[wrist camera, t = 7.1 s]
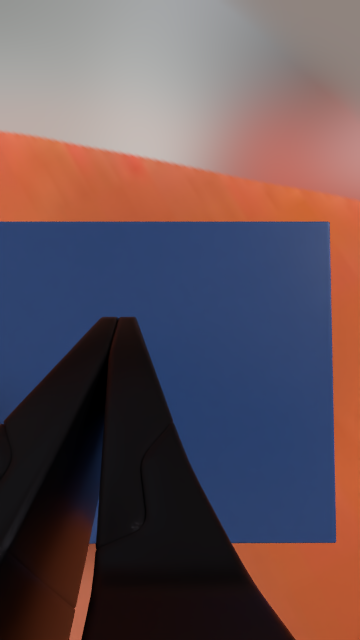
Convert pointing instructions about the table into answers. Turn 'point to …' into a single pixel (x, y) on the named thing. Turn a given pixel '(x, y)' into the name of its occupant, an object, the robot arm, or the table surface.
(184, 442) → the lid
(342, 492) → the table surface
